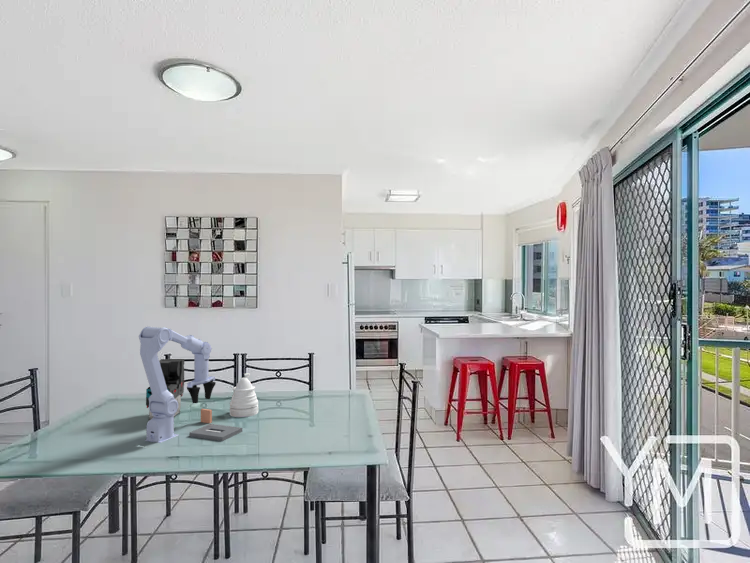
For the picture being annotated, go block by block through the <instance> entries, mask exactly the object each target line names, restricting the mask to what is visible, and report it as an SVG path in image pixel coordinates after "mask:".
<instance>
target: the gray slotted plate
mask: <svg viewBox="0 0 750 563" xmlns="http://www.w3.org/2000/svg"><path fill="white" fill-rule="evenodd" d="M242 432H243V427H239V426H238V427H237V426H231V425H223V424H215V423H208V424H206V425H204V426H202V427H198V428H197V429H195V430H192V431H189V433H188V434H189V437H191V438H197V439H199V438H200V439H205V440H212V441H218V442H219V441H220V442H224V441H226V440H228V439H230V438H232V437H234V436H237V435H238V434H240V433H242Z"/></svg>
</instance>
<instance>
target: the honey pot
mask: <svg viewBox="0 0 750 563" xmlns="http://www.w3.org/2000/svg"><path fill="white" fill-rule="evenodd" d="M243 374H244V377H241V378H240V379H239V380H238V382H237V383H236V386H234V387H233V388H232V391H233V393H232V395H231V400H230V401H229V416H231V417H235V418H246V417H252V416H253V417H254V416H256V415H257V414H258V413H259V400H258V397H257V394H256V391H255V389H256V386H254V385H252V383H251V381H250V380H249V379H248V378H250V376H251V373H250V372H249V373H243Z"/></svg>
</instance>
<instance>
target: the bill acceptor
mask: <svg viewBox="0 0 750 563" xmlns="http://www.w3.org/2000/svg"><path fill="white" fill-rule="evenodd" d="M159 362H160V366H161V369H162V373H163V376H164V380H165V383H166V386H167V390H168V391H169V392H170V393H172V394H173V395H174V398H175V400H176V401H177V402H178V409H177V411H176V413H175V415H174V417H176V416H177V415H180V412H181V406H182V405H181V401H182V400H181V398H182V397H183V394H184V392H185V366H184V365H185V358H160V359H159ZM151 395H152V392H151V389H150V386H149V387H147V388H146V392H145V406H146V409H148V410H149V397H150V396H151ZM148 414H149V416H148V421H149V420H151V419H152V418H153V416H152V413H151V412H150V410H149V411H148Z"/></svg>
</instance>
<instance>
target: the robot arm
mask: <svg viewBox="0 0 750 563" xmlns="http://www.w3.org/2000/svg"><path fill="white" fill-rule="evenodd" d="M138 339H139V344H140V347H139V348H140V349H139V355H140V359H141V362H142V365H143V368H144V371H145V374H146V378H147V379H146V380H148V381H147V382H148V385H149V387H150V389H151V392H152V395H151V396H150V397H149V407H148V410H150V412H151V413H152V416H153V418H152V419H151V420H149V419H148V421H147V424H146V439H145V440H144V442H153V443H159V444H161V443H163V442H166V441H168V440H171V439H174V438H175V437H178V436H179V434H177V433H174V432H175V431H174V430H175V429H174V428H175V427H174V426H175V423H174V422H175V421H174V420H175V419H174V418H175V416H174V415H175V413H176V411H177V409H178V402H177V401H176V400H175V398H174V395H173V394H172V393H170V392H169V391H168V390H167V386H166V383H165V380H164V376H163V373H162V369H161V366H160V362H159V361H160V359H159V356H158V353H159V352H160V351H161V350H162V349H163V348H165V346H166V345H167V343H168V342H169V341H172V342H174V343H176V344H177V343H178V344H179V345H180V346H181V348H182V349H184V350H187V351H189V352H191V354H192V355H193V356H194V360H193V361H194V364H193V367H194V373H193V374H194V378H193V380H191V381H188V382H186V383H187V386H186V390H187V392H189V393H188V394H189V395H190V399H191V401H192V404H198V403H199V394H200V390H201V387H199V386H200V385H202V387H203V391H204V398H205V399H206V400H211V396H212V393H213V390H214V387H215V386H216V385H217V384H216V376H209V366H210V365H209V359H210V356H211V352H212V349H213V348H212V346H211V344H210V343H209V342H208V341H202V339H201V338H197V337H195V336H194V335H193V334H188V335H182V334H181V333H178V332H177V331H174V330H173V329H171V328H167V327H165V326H162V327H159V326H158V327H157V326H145V327H143V328H142V330H141V331H140V332H139V335H138Z"/></svg>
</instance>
